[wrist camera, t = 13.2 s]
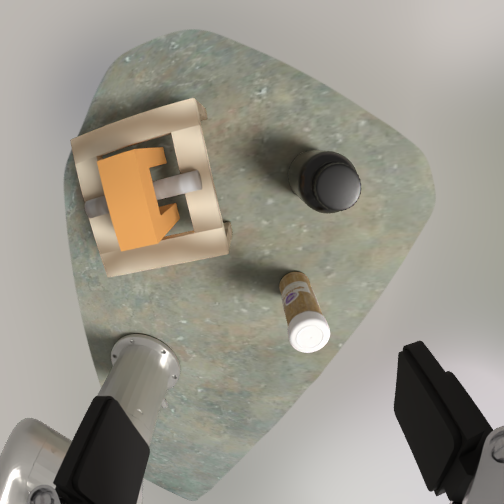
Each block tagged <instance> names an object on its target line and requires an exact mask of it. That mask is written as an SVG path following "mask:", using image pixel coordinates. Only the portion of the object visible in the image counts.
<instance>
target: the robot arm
mask: <svg viewBox="0 0 504 504" xmlns="http://www.w3.org/2000/svg"><path fill="white" fill-rule="evenodd" d="M111 362H112V365H113V367H112V369H111V371H110V373H109V375H108V376H107V378H106V380H105V382H104V384H103V386H102V388H101V390H100V392H99V393H98V395H97V396H96V397H95V398H94V399H93V401H92V403H91V405H90V406H89V408H88V410H87V412H86V414H85V416H84V418H83V420H82V422H81V424H80V426H79V428H78V430H77V433H76V434H75V436H74V438H73V440H72V441H71V440H70V439H68V438H66V437H65V436H63V435H61V434H60V433H58V432H57V431H55V430H53V429H52V428H50V427H49V426H47V425H46V424H44V423H42V422H40V421H38V420H36V419H33V418H26V419H23V420H22V421H21V422H19V423H18V424H17V425H16V427H15V428H14V429H13V431H12V433H11V434H10V436H9V438H8V440H7V442H6V444H5V446H4V449H3V451H2V453H1V456H0V504H142V500H143V477H144V473H145V469H146V465H147V461H148V458H149V454H150V449H149V447H150V443H151V439H152V435H153V432H154V428H155V425H156V422H157V418H158V415H159V411H160V408H161V407H162V408H166V407H167V406H168V403H167V401H166V399H165V396H166V392H167V390H169V389H171V388H172V387H174V386H175V384H176V383H177V382H178V380H179V376H180V370H181V368H180V363H179V361H178V358H177V357H176V355H175V354H174V352H173V351H172V350H171V349H170V348H169V347H168V346H167V345H165V344H164V343H163V342H161V341H159V340H157V339H155V338H153V337H150V336H146V335H141V334H130V335H127V336H124V337H122V338H120V339H119V340H118V341H117V342H116V343H115V345H114V346H113V349H112V351H111ZM394 412H395V415H396V418H397V420H398V422H399V424H400V426H401V428H402V431H403V433H404V435H405V437H406V440H407V442H408V444H409V446H410V449H411V450H412V453H413V455H414V458H415V460H416V462H417V465H418V467H419V469H420V472H421V474H422V476H423V479H424V481H425V484H426V486H427V488H428V490H429V491H434V492H435V494H436V496H439V495H441V494H442V493H445V492H446V494H447V496H448V498H449V500H450V501H451V502H450V504H504V426H502V427H499V428H496V429H495V430H493V429H492V428H491V426H490V425H489V423H488V422H487V420H486V419H485V417H484V416H483V414H482V413H481V411H480V410H479V409H478V407H477V406H476V404H475V403H474V401H473V400H472V399H471V397H470V396H469V395H468V393H467V392H466V390H465V389H464V387H463V386H462V385H461V383H460V382H459V381H458V379H457V378H456V377H455V375H454V374H453V373H452V372H449V371H447V372H445V371H444V370H443V368H442V367H441V366H440V364H439V363H438V361H437V360H436V359H435V358H434V356H433V355H432V353H431V352H430V351H429V350H428V348H427V347H426V346H425V345H424V343H423V342H422V341H417V342H415V343H412V344H409V345H406V346H404V347H403V351H401V352H399V355H398V370H397V382H396V391H395V401H394ZM28 491H29V492H30V494H29V492H28Z"/></svg>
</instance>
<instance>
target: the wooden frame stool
mask: <svg viewBox="0 0 504 504" xmlns="http://www.w3.org/2000/svg"><path fill="white" fill-rule="evenodd" d="M207 119H208V118H207V113H206V108H204V107H203V106H202V105H201V104H200V103H199V102H198V101H197V100H196V99H194V98H191V99H187V100H183V101H180V102H176V103H172V104H169V105H166V106H162V107H159V108H155V109H152V110H149V111H146V112H143V113H140V114H137V115H134V116H131V117H128V118H125V119H122V120H119V121H116V122H114V123H111V124H108V125H106V126H103V127H100V128H98V129H95V130H93V131H90V132H88V133H85V134H83V135H81V136H78V137H76V138H73V139H71V146H72V151H73V156H74V161H75V165H76V170H77V174H78V178H79V183H80V187H81V191H82V195H83V199H84V202H85V212H86V214H87V216H88V217H89V220H90V224H91V227H92V230H93V234H94V237H95V240H96V243H97V247H98V250H99V253H100V256H101V259H102V262H103V265H104V268H105V270H106V273H107V276H108V278H109V277H114V276H119V275H124V274H129V273H134V272H139V271H144V270H149V269H154V268H160V267H165V266H170V265H175V264H180V263H185V262H190V261H195V260H201V259H206V258H211V257H216V256H221V255H226V254H229V248H230V243H231V238H232V228H231V223H230V222H226V223H223V221H222V216H221V212H220V208H219V203H218V199H217V194H216V190H215V186H214V181H213V177H212V172H211V168H210V163H209V158H208V154H207V149H206V145H205V140H204V135H203V131H202V126H201V121H203V120H207ZM169 134H172V138H173V143H174V148H175V152H176V157H177V161H178V166H179V170H180V174H179V175H175V176H171V177H167V178H163V179H160V180H156V181H152V182H153V187H154V191H155V195H156V199H157V200H160V199H164V198H168V197H172V196H176V195H180V194H184V193H185V196H186V200H187V204H188V208H189V212H190V216H191V220H192V224H193V228H194V230H193V231H189V232H184V233H179V234H175V235H170V236H166V237H163V238H162V240H161V241H160V242H159V243H158V244H154V245H149V246H145V247H140V248H135V249H131V250H126V251H122V252H121V250H120V246H119V243H118V240H117V237H116V233H115V230H114V227H113V223H112V220H111V216H110V212H109V209H108V205H107V201H106V198H105V194H104V190H103V186H102V182H101V178H100V173H99V169H98V165H97V161H100V160H102V159H103V157H102V156H103V155H105V154H108V153H111V152H114V151H117V150H120V149H123V148H126V147H129V146H132V145H135V144H139V143H142V142H145V141H148V140H152V139H155V138H158V137H162V136H165V135H169Z"/></svg>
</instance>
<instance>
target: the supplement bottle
mask: <svg viewBox="0 0 504 504" xmlns="http://www.w3.org/2000/svg"><path fill="white" fill-rule="evenodd" d="M288 179H289V183H290V186H291V188H292V190H293V191H294V192H295V194H296V195H297V196H298V197H299V198H300V199H301V200H303V201H304V202H305V203H306V204H307V205H308V206H309V207H310V208H312V209H313V210H315V211H318V212H321V213H335V212H339V211H343V210H346V209H348V208H350V207H351V206H353V205H354V203H356V202H357V199H358V198H359V195H360V193H361V192H360V191H361V183H360V179H359V175H358V174H357V172H356V170H355V167H354V166H353V164H352V163H351V162H350V161H349V160H348V159H347V158H346V157H344V156H343V155H341V154H339V153H336V152H331V151H321V150H309V151H305V152H303V153H301V154H299V155H298V156H297V157H296V158H295V159H294V160H293V161H292V163H291V165H290V167H289V172H288Z"/></svg>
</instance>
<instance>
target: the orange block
mask: <svg viewBox="0 0 504 504" xmlns="http://www.w3.org/2000/svg"><path fill="white" fill-rule="evenodd" d="M165 163H167V162H166V158H165V153H164V149H163V147H159V148H142V149H133V150H130V151H127V152H123V153H120V154H117V155H114V156H111V157H108V158H105V159H102V160H100V161H97V165H98V169H99V173H100V178H101V182H102V186H103V190H104V194H105V198H106V201H107V205H108V209H109V212H110V216H111V220H112V223H113V227H114V230H115V233H116V237H117V240H118V243H119V246H120V250H121V252H122V251H126V250H131V249H135V248H140V247H145V246H149V245H154V244H158V243H159V242H160V241H161V240H162V238H163V237H164V236H165V235H166V234H167V233H168V232H169V230H170V229H171V228H172V227H173V226H174V225H175V224H176V222H177V221H178V220H179V219H180V217H179V213H178V209H177V205H176V203H173V204H169V205H165V206H161V207H158V203H157V199H156V195H155V191H154V187H153V182H152V178H151V174H150V170H149V168H151V167H154V166H158V165H162V164H165Z"/></svg>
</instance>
